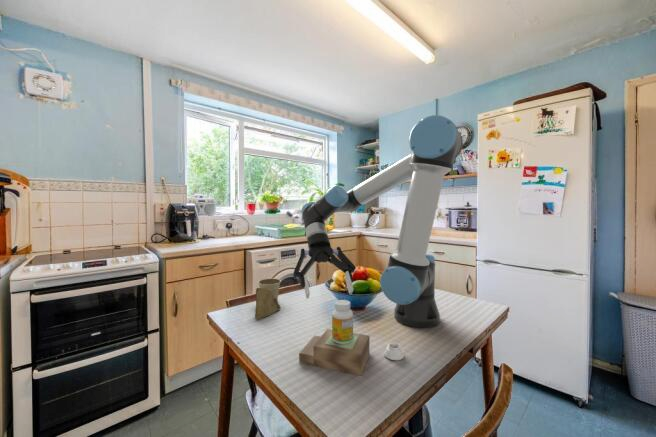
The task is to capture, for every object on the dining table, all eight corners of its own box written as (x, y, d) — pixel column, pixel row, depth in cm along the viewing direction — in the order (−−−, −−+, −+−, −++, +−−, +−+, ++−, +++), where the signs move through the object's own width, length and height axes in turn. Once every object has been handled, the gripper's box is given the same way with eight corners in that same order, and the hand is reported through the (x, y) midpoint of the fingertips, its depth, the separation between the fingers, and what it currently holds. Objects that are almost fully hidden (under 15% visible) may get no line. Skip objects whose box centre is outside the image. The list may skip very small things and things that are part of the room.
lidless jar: (382, 358, 71) (401, 363, 69) (382, 347, 71) (401, 352, 69) (386, 349, 76) (405, 354, 74) (387, 339, 76) (405, 343, 73)
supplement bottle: (329, 336, 72) (328, 300, 72) (347, 333, 74) (347, 297, 74) (337, 346, 67) (336, 307, 67) (356, 342, 69) (356, 304, 69)
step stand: (369, 353, 73) (369, 334, 73) (360, 375, 64) (360, 353, 64) (314, 343, 79) (314, 325, 79) (299, 362, 70) (298, 342, 69)
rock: (278, 299, 109) (253, 299, 106) (283, 286, 105) (256, 285, 101) (280, 324, 101) (253, 325, 98) (285, 311, 97) (256, 311, 93)
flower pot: (286, 300, 115) (285, 280, 115) (270, 307, 107) (269, 285, 107) (269, 296, 120) (269, 277, 120) (253, 303, 112) (253, 282, 112)
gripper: (348, 243, 102) (365, 295, 88) (281, 246, 95) (287, 304, 82) (353, 230, 97) (372, 283, 83) (282, 233, 90) (289, 291, 76)
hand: (330, 294), depth 82 cm, fingers open, 13 cm apart
